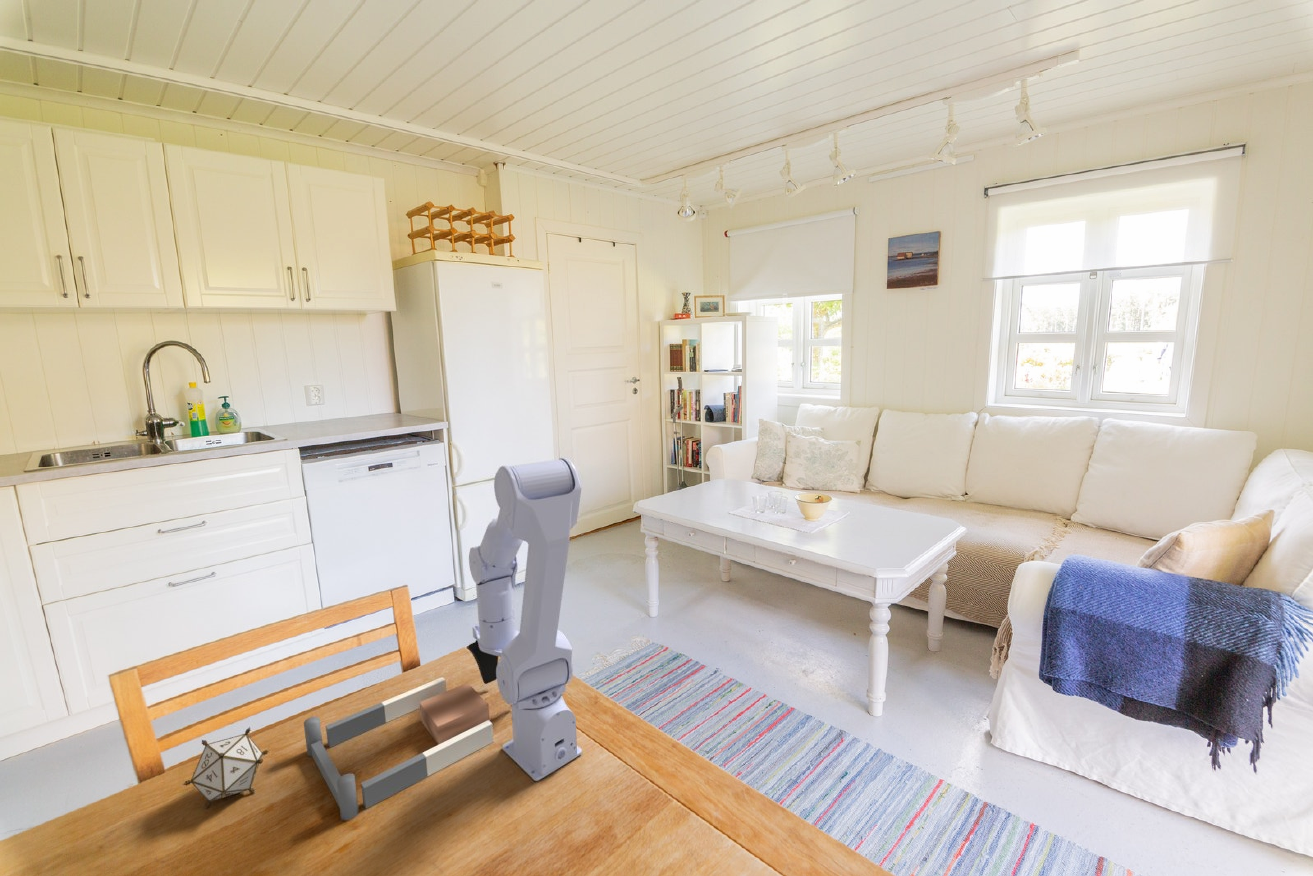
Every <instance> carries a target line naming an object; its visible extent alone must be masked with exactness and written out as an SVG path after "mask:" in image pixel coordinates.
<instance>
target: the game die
mask: <svg viewBox="0 0 1313 876" xmlns="http://www.w3.org/2000/svg"><path fill="white" fill-rule="evenodd" d="M250 731H251V726H249V727H248V728H247V729H245V733H243V734H239V735H236V736H232V737H228V738H225V739H220V740H217V741H213V742H210V743H208V741H207V740H206V739H205V740H204V739H201V745H202V746H204V748H203V751H202V752H201V756H200V758H199V760H198V762H197V765H196V767H195V769H194V771H193V772H192V773H193V774H192V777H191V779H188V780H185V781H184V782H183V783H182V785H183V786H189V785H190V784H192V785H193V786H194V787H195V788H196V789H197V790H198V791H199V792H200V794H202V796H203V797H204V798H205V799H206V800H207V802H205V804H204V809H205V810H206V809H207V808H209V807H210V806H211V804H212V803H211V802H215V801H216V800H220V799H224V798H227V797H231V796H234V795H236V794H240V793H243V792H247V791H248V793H249V794H255V789H254V788H252V786H253V783H254V779H255V778H256V774H257V772H258V768H259V765H261V764H262V763H263V762H264V760H263V756H265V755H267V754H268V753H269V752H270V751H269V750H266V749H265V750H263V751H261V749H260V748H259V747H258V746H257V745H256V742H254V741H253V740H252V737H250V735H249V733H250Z"/></svg>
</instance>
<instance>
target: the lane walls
mask: <svg viewBox="0 0 1313 876" xmlns="http://www.w3.org/2000/svg"><path fill="white" fill-rule="evenodd" d="M446 691H447V681H446V679H445V678H444V677H443V676H442V677H438V678H437V679H435V680H432V681H429V682H427V683H425V684H423V685H420V686H418V687H415V688H413V689H410V690H407V691H406V692H404V693H400V694H398V695H396V696H393V697H391V698H389V699H386V700H384V701H381V702H382V704H383V705H384V709H385V719H386V723H385V724H387V723H389V722H392V721H393V720H396V719H398V718H400V717H402V716H405V715H407V714H409V713H411V712H414V711H416V710H420V705H419V702H421V701H424V700H426V699H429V698H431V697H434V696H436V695H439V694H441V693H444V692H446ZM493 742H494V729H493V722H491V721H489V720H487V721H485V722H483V723H481V724H479V725H477V726H475V727H473V728H471V729H469V730H467V731H465V732H463V733H461V734H459V735H457V736H455V737H453V738H451V739H449V740H447V741H445V742H443V743H441V744H439V745H438V744H437V745H436V746H433V747H431V748H429V749H427V750H425V751H424V752H423V751H422V753H423V754H424V755H425V756H426V763H427V774H428V777H429V776H432V775H434V774H435V773H437V772H439V771H442V770H443V769H444V768H447V767H448V766H450V765H452V764H454V763H456V762H458V761H460V760H462V759H464V758H465V757H467V756H469V755H471V754H473V753H475V752H477V751H478V750H481V749H483V748H484V747H487V746H488V745H490V744H493Z"/></svg>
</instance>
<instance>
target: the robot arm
mask: <svg viewBox="0 0 1313 876" xmlns="http://www.w3.org/2000/svg"><path fill="white" fill-rule="evenodd" d="M493 483H494V484H493V485H494V486H493V487H494V496H495V500H496V503H497V505H498V507H499V511H498V515H497V517H496V518H493V519H492V520H491V521H490V522H489V523H488V525H487V527H486V530H485V532H484V535H483V537H482V540H481V543H480V545H477V546H471V547H470V549H469V554H468V563H469V571H470V574H471V578H472V580H473V581H474V583H475V588H476V589H475V590H476V603H477V616H478V617H477V618H478V620H477V621H478V624H477V625H474V626H472V627H471V628H472V638H474V640H475V641H474V642H472V643H470V644H468V647H467V649H468V650H469V652H470V653H471V654H472V656H473V657H474V660H475V663H476V664H477V667H478V670H479V673H480V677H481V679H482V681H483V683H484V684H485V685H487V684H489V683H492V682H494V681H496V683H497V686H498V690H499V693H500V695H501V697H502V699H503V700H504V702H506V703H507V704H508V705H510V707H511V721H512V722H511V723H512V738H513V739H511V740H509V741H507V742H505V743H504V744H502V750H503V751H504V752H505V754H507V755H508V756H509V757H510V758H511V760H513V761H514V762H515V763H517V764H516V765H518V766H519V767H520V768H521V769H522V770H523V771H524V772H525V773H526V774H528V775H529V776H530V778H532V780H534V781H536V782H537V781H540V780H541V779H543V778H545V777H546V776H548V775H549V774H551V773H553V772H555V771H556V770H559V768H561V767H563V766H564V765H566V764H568V763H570V762H571V761H573V760H574V759H575V758H577V757H579V756H581V755H582V754H583V749H582V748H581V747H580V746H578V741H577V739H578V738H577V719H576V716H575V714H574V712H573V711H572V710H571V709H570V708H569V707H568V705H567V704H566V702H565V699H564V697H563V693H566V692H567V691H566V690H567V689H566V684H569V683H571V681H572V678H573V675H574V661H573V647H572V644H571V643H570V641H569V639H568V638H567V637H566V635H565V634H564V632H562V631H561V630H560V629H558V628H559V621H560V615H561V614H560V613H561V607H562V599H563V592H564V585H565V579H566V572H567V571H566V569H567V562H568V555H569V547H570V537H571V531H572V529H573V528H574V527H575V526H576V524H577V523H578V518H579V517H578V516H579V510H580V505H581V504H580V502H581V495H582V484H581V481H580V477H579V473H578V470H577V468H576V466H575V465H574V463H573V462H572V461H571V460H570V459H569V458H567V457H560V458H558V459H554V460H553V459H552V460H545V461H539V462H531V463H524V464H518V465H516V464H515V465H501V466H499V468H498V469H497V471H496V472H495V475H494V481H493ZM523 542H526V543H527V545H528V546H527V557H526V565H525V566H526V567H525V575H524V586H523V594H522V595H523V596H522V605H521V606H522V607H521V616H520V623H519V624H520V626H519V630H518V629H516V624H515V623H516V621H515V620H516V619H515V604H514V587H515V586H516V584H517V582H516V575H517V574H518V573H517V572H518V567H519V564H518V559H517V555H518V553H519V551H520V548H521V546H522V544H523ZM499 657H500V659H499Z"/></svg>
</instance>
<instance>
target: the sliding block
mask: <svg viewBox="0 0 1313 876" xmlns="http://www.w3.org/2000/svg"><path fill="white" fill-rule="evenodd" d="M419 705H420V708H419V714H420V721H421V723H422V724H423V726H424V727H425V728H426V730H427V731H428V732H429V734H430V735H431V737H432V738H433V740H434V741H435V742H436V743H437V745H439V744H441V743H443V742H445V741H447V740H449V739H451V738H453V737H455V736H457V735H459V734H461V733H463V732H465V731H467V730H469V729H471V728H473V727H475V726H477V725H479V724H481V723H483V722H485V721H487V720H489V721H490V720H491V719H490V706H489V705H490V704H488V703H487V701H486V700H485V699H484V698H483V697H482V696H481V695H480V693H478V692H477V691H476V689H474V687H473V686H472V685H471V684H470V683H469V682H466V683H464V684H461V685H459V686H457V687H455V688H451V689H449V690H446V692H444V693H441V694H439V695H436V696H434V697H431V698H429V699H426V700H424V701H421V702H419ZM490 722H491V721H490Z"/></svg>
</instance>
